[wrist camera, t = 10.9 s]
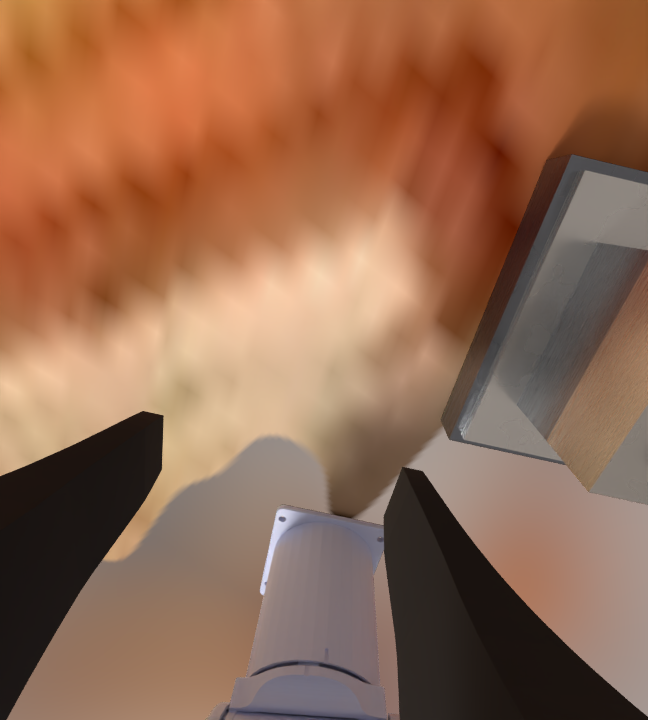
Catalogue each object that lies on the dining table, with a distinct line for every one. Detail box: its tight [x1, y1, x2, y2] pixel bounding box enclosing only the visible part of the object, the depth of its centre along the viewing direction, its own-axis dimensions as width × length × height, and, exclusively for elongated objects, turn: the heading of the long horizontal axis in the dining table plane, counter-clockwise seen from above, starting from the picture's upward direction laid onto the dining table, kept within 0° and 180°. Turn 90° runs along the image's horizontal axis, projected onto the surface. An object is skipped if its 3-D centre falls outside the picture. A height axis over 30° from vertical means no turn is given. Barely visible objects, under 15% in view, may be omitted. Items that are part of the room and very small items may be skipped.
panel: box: [441, 154, 648, 465], centre depth 18 cm, size 14×9×2 cm, turn 168°
